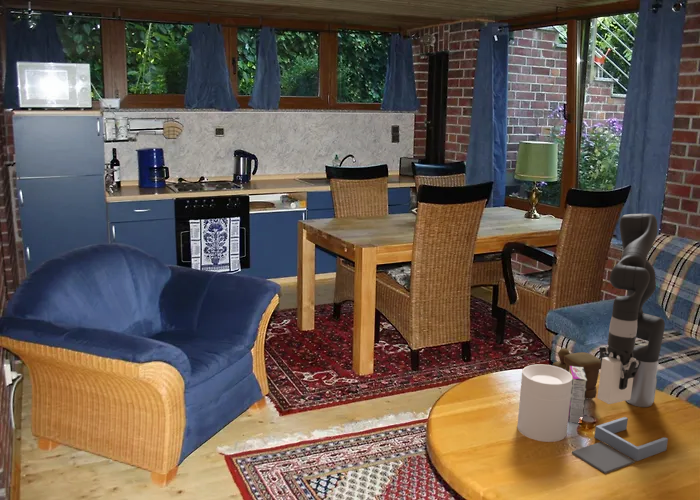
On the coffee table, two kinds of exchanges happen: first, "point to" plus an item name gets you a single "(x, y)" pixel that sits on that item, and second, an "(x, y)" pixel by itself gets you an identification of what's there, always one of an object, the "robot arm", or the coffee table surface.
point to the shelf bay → (637, 453)
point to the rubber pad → (603, 457)
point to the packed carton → (612, 382)
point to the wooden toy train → (585, 361)
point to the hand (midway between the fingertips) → (615, 385)
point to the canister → (544, 402)
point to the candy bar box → (577, 393)
